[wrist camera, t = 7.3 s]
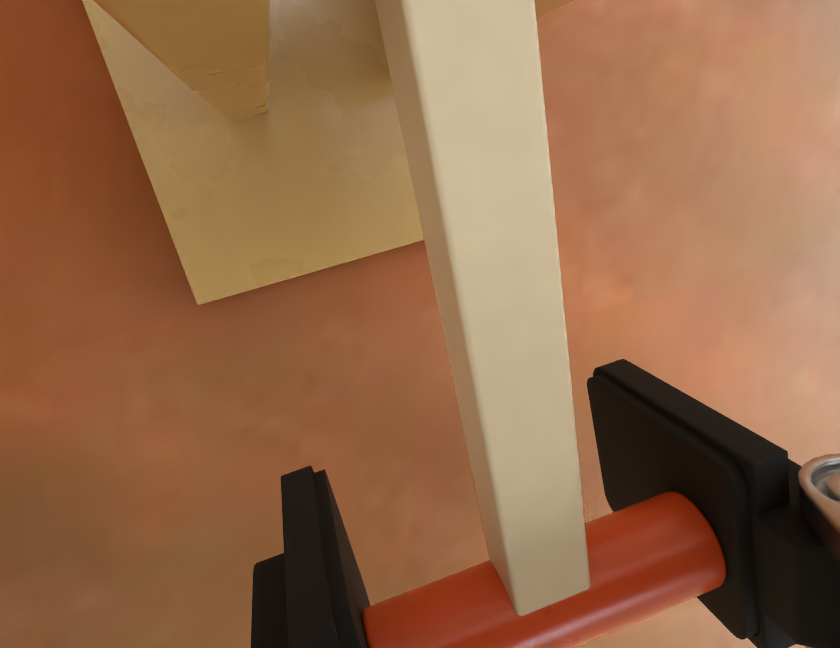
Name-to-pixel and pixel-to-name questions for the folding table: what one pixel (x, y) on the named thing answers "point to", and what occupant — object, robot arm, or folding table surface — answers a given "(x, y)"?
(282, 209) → the bracket
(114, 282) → the folding table surface
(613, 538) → the lever
